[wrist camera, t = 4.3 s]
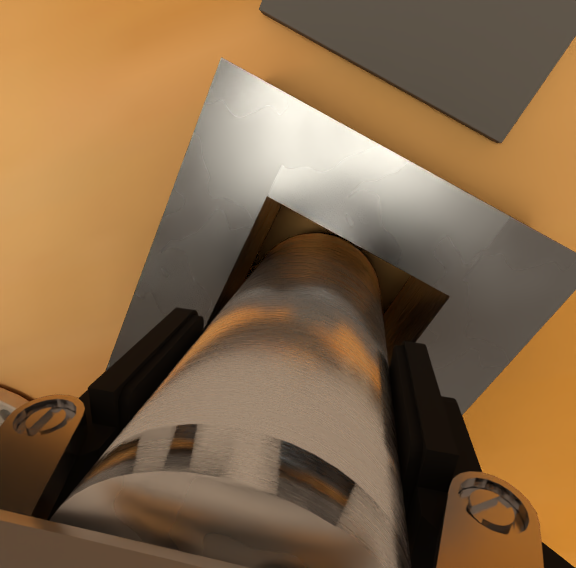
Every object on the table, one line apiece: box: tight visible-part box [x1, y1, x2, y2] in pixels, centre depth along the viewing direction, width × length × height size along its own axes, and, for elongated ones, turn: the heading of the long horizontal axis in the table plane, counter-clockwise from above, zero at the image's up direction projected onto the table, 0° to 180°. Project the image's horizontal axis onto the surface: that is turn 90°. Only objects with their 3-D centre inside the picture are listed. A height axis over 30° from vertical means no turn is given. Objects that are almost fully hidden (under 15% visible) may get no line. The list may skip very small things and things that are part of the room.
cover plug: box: [49, 233, 411, 568], centre depth 11 cm, size 5×5×12 cm
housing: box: [106, 57, 576, 415], centre depth 16 cm, size 12×12×5 cm
